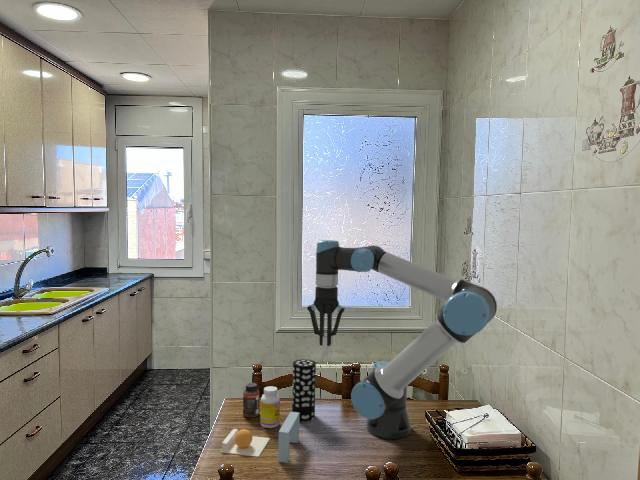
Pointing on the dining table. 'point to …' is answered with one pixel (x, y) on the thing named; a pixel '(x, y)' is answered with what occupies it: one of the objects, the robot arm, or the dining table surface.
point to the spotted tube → (304, 389)
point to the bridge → (288, 436)
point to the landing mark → (249, 447)
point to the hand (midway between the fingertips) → (325, 354)
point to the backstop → (229, 439)
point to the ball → (243, 438)
